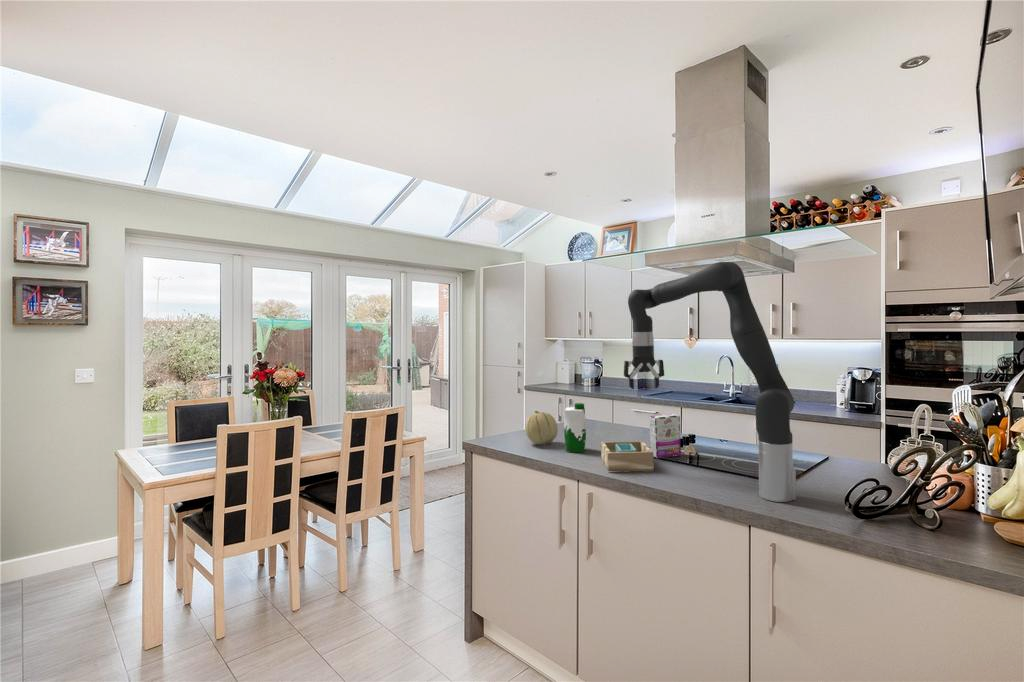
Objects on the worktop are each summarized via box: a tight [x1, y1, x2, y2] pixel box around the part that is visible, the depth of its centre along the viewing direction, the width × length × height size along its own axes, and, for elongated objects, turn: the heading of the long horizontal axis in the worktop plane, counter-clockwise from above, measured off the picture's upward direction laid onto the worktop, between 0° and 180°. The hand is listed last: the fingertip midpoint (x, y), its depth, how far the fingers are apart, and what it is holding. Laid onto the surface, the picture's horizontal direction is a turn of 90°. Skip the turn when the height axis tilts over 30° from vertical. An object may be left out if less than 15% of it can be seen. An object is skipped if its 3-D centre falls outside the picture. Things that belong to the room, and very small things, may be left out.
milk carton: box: [563, 402, 587, 453], centre depth 220 cm, size 9×9×20 cm
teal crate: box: [615, 444, 636, 452], centre depth 196 cm, size 10×6×6 cm, turn 178°
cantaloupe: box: [525, 410, 559, 445], centre depth 233 cm, size 15×15×15 cm
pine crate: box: [600, 440, 655, 472], centre depth 196 cm, size 17×16×7 cm
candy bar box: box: [649, 413, 682, 459], centre depth 207 cm, size 11×5×16 cm, turn 105°
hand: (644, 388), depth 189 cm, fingers open, 8 cm apart
